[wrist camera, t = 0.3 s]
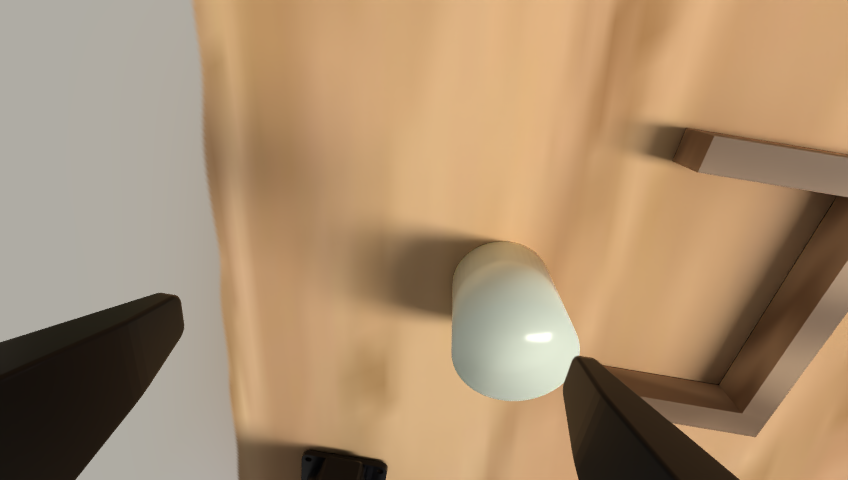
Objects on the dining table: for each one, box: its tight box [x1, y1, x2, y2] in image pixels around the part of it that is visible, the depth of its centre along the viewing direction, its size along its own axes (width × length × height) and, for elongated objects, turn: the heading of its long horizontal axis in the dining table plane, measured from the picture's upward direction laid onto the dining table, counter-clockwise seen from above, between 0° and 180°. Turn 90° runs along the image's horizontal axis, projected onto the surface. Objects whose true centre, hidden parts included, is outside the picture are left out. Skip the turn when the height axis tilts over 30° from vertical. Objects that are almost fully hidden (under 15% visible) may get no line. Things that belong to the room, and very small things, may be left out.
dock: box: [604, 128, 848, 437], centre depth 21 cm, size 16×10×2 cm, turn 172°
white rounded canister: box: [452, 241, 580, 401], centre depth 20 cm, size 6×6×6 cm
